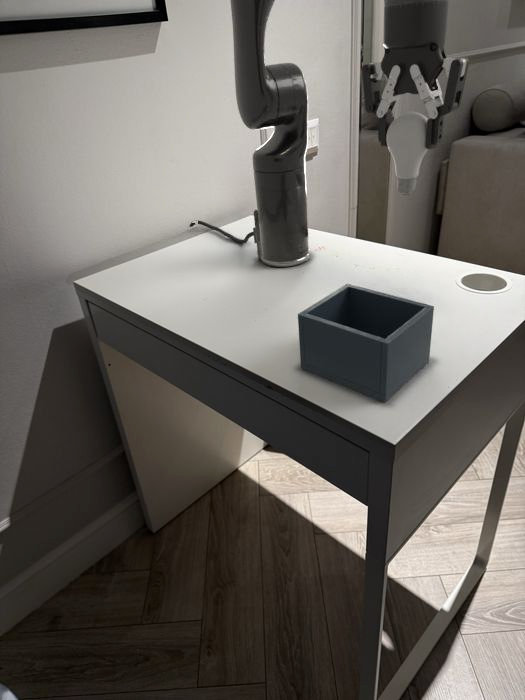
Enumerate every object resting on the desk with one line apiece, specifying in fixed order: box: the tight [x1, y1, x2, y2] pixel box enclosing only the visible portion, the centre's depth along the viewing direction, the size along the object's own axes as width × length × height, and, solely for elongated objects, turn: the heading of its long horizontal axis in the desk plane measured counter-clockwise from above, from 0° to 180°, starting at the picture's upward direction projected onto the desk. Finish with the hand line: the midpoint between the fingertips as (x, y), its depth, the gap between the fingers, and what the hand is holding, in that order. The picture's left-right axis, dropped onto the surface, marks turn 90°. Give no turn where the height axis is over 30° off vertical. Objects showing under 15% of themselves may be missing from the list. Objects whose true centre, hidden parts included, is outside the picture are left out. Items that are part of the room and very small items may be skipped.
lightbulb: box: [386, 111, 429, 196], centre depth 72 cm, size 6×6×11 cm
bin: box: [297, 283, 435, 403], centre depth 65 cm, size 13×11×8 cm
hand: (408, 146), depth 71 cm, fingers closed on lightbulb, 6 cm apart
